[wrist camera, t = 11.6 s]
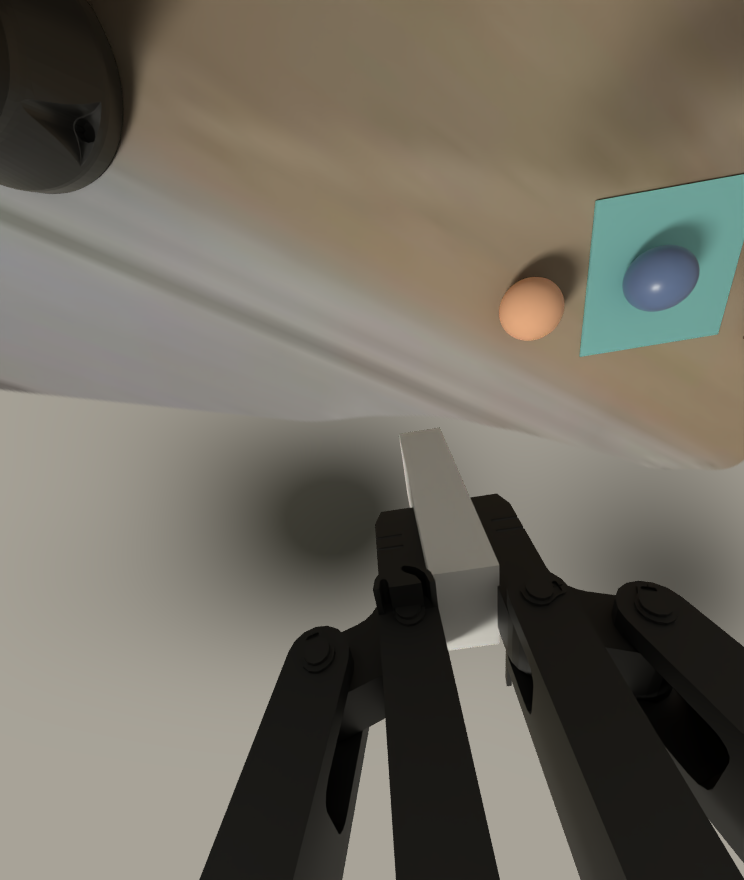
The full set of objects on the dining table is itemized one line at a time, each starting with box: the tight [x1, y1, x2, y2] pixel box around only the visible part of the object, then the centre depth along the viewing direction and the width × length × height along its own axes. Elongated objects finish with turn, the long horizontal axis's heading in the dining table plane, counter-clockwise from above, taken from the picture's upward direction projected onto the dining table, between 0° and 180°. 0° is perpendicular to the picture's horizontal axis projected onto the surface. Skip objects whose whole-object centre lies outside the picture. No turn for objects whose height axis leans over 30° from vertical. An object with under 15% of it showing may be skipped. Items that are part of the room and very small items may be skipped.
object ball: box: [622, 245, 700, 312], centre depth 34 cm, size 6×6×6 cm
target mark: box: [580, 174, 744, 357], centre depth 36 cm, size 14×14×1 cm
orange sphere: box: [499, 277, 564, 341], centre depth 35 cm, size 6×6×6 cm
